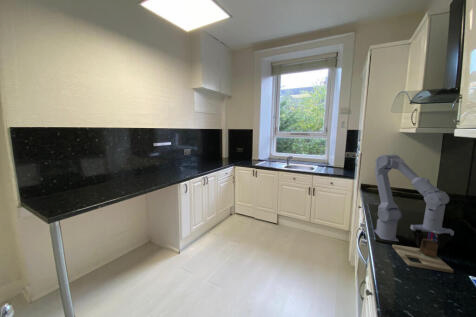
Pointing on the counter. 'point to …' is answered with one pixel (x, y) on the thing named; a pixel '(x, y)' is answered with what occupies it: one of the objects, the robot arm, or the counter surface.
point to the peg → (429, 248)
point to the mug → (432, 236)
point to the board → (421, 259)
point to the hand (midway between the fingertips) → (428, 247)
